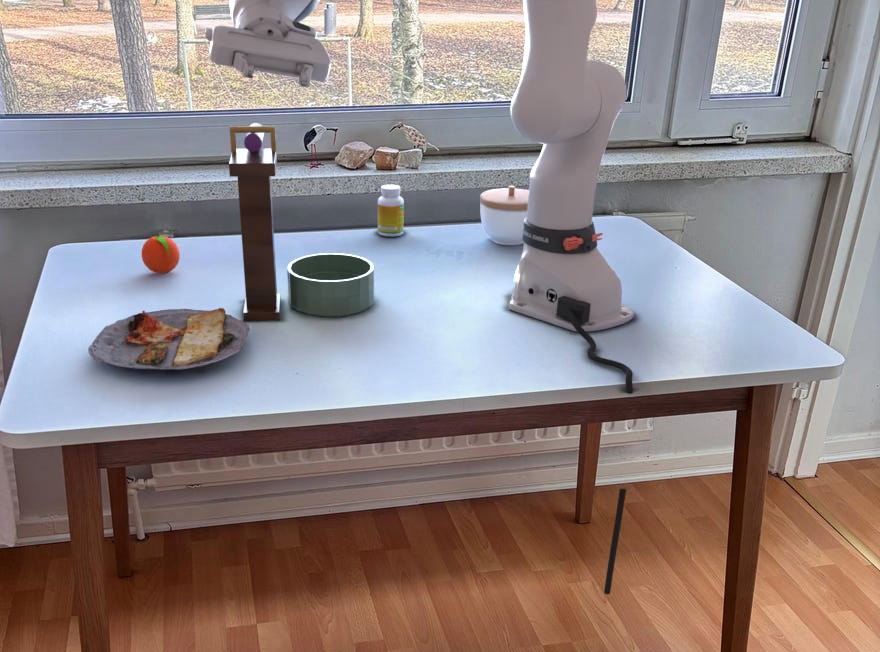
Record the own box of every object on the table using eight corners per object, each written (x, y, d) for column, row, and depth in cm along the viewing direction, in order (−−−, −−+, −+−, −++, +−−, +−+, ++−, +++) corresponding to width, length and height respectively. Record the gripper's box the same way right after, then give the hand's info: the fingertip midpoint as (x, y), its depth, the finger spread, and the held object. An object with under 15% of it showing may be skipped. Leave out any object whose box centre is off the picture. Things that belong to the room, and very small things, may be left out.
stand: (243, 301, 175) (230, 123, 160) (284, 300, 176) (275, 123, 160) (239, 322, 167) (226, 137, 151) (283, 321, 167) (273, 137, 152)
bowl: (390, 307, 173) (390, 271, 170) (316, 324, 166) (315, 287, 163) (345, 282, 184) (344, 248, 180) (274, 298, 176) (272, 262, 173)
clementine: (189, 276, 186) (186, 238, 182) (154, 283, 182) (150, 244, 179) (172, 264, 191) (168, 227, 188) (138, 270, 188) (133, 233, 184)
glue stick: (248, 140, 169) (247, 122, 168) (265, 140, 169) (264, 122, 168) (244, 152, 159) (243, 133, 158) (262, 152, 159) (261, 133, 158)
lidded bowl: (474, 247, 203) (477, 192, 197) (480, 229, 213) (483, 177, 208) (537, 251, 201) (542, 196, 195) (540, 233, 212) (544, 180, 206)
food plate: (121, 318, 168) (118, 298, 166) (259, 321, 167) (257, 301, 165) (74, 381, 146) (70, 359, 144) (233, 385, 146) (231, 363, 144)
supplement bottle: (403, 237, 208) (403, 190, 203) (377, 237, 208) (377, 189, 203) (403, 229, 212) (404, 183, 207) (378, 229, 212) (378, 183, 207)
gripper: (206, 8, 165) (217, 49, 157) (324, 30, 173) (340, 70, 165) (200, 44, 170) (211, 86, 161) (315, 64, 177) (331, 105, 169)
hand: (277, 78), depth 163 cm, fingers open, 8 cm apart
